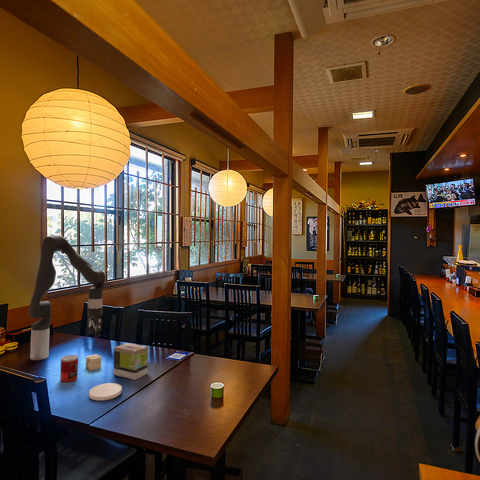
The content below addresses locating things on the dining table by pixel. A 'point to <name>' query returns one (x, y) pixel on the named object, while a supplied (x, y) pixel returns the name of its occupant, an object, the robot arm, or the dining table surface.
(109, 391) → the plastic lid
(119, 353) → the tea box
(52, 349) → the dining table surface
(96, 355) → the block
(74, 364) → the canned food
